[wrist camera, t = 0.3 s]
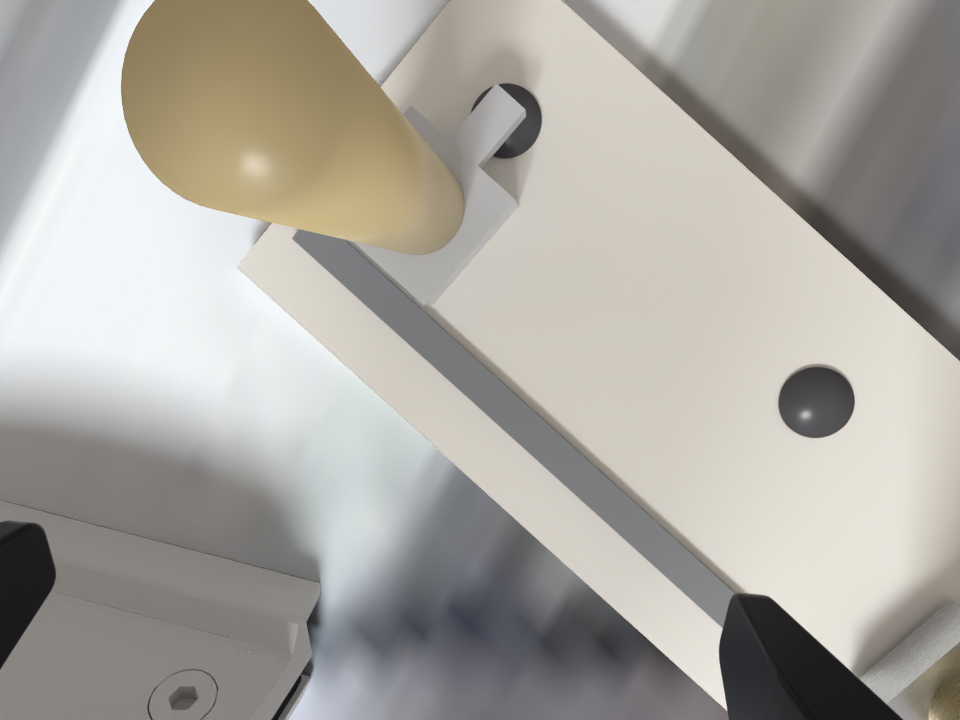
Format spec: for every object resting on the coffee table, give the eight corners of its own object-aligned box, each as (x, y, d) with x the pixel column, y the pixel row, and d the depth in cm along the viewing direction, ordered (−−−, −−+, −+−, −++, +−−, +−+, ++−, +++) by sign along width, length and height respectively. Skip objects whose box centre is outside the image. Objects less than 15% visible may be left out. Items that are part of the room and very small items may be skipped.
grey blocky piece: (330, 585, 25) (183, 878, 16) (324, 663, 27) (192, 958, 18) (-54, 486, 26) (-384, 708, 17) (-29, 568, 28) (-312, 802, 20)
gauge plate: (879, 834, 24) (1423, 1729, 9) (252, 268, 24) (-230, 238, 9) (1188, 584, 22) (2560, 1223, 7) (499, -40, 22) (400, -743, 7)
